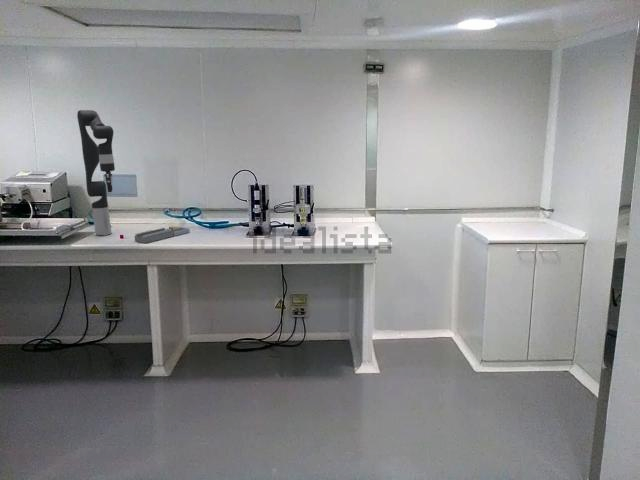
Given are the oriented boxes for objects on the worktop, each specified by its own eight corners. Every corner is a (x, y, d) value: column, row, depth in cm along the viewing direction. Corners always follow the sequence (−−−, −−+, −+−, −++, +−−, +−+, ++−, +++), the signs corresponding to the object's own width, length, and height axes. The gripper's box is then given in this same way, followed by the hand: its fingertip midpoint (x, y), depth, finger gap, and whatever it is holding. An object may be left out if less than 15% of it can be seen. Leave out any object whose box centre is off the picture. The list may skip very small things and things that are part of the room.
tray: (174, 236, 300) (174, 232, 300) (162, 234, 306) (162, 230, 306) (189, 232, 310) (189, 228, 309) (178, 230, 316) (177, 226, 315)
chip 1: (172, 227, 303) (176, 226, 305) (168, 227, 305) (172, 226, 307) (173, 234, 304) (177, 233, 306) (169, 233, 306) (173, 232, 308)
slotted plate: (145, 243, 284) (145, 236, 283) (135, 241, 290) (134, 234, 289) (173, 236, 300) (172, 229, 299) (162, 234, 306) (162, 227, 305)
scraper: (139, 234, 296) (154, 230, 305) (135, 233, 299) (150, 229, 308) (140, 238, 297) (155, 234, 306) (135, 237, 299) (150, 233, 308)
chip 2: (181, 227, 309) (182, 231, 309) (177, 226, 311) (178, 231, 312) (176, 228, 305) (177, 233, 306) (172, 227, 308) (173, 232, 308)
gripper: (113, 163, 272) (117, 192, 276) (114, 161, 284) (117, 189, 288) (98, 163, 269) (102, 193, 273) (100, 161, 282) (103, 189, 286)
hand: (110, 191), depth 281 cm, fingers open, 8 cm apart
